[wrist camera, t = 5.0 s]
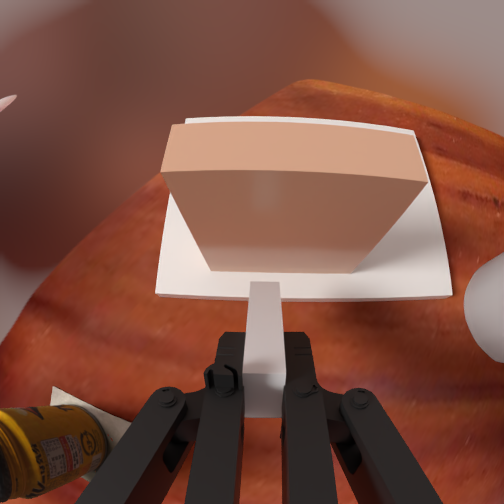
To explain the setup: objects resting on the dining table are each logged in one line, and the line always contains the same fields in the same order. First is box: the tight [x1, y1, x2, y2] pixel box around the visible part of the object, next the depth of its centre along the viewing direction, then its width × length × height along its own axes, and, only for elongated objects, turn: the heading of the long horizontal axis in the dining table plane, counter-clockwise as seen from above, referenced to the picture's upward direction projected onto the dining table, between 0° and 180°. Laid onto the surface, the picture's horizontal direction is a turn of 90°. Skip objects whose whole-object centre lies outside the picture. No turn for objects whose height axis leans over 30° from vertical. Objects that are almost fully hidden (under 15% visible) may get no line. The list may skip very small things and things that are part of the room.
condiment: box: [0, 386, 131, 503], centre depth 12 cm, size 7×8×12 cm
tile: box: [161, 122, 428, 274], centre depth 16 cm, size 10×3×12 cm, turn 88°
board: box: [155, 116, 453, 302], centre depth 24 cm, size 23×17×1 cm
